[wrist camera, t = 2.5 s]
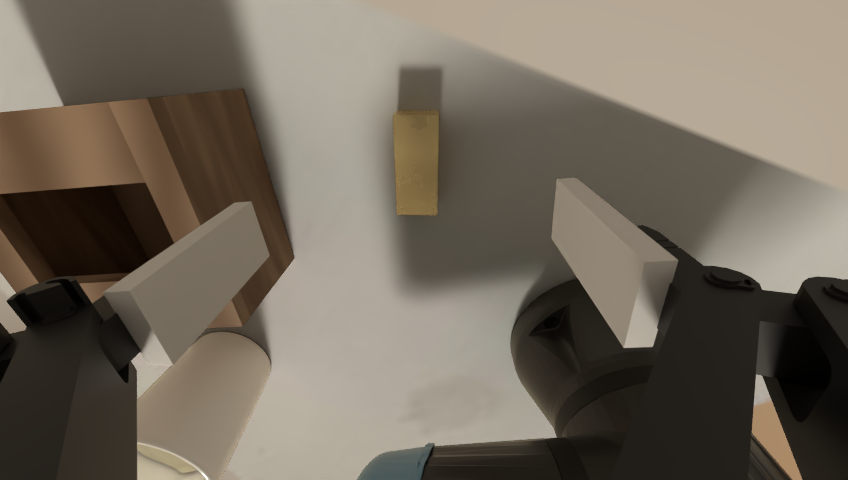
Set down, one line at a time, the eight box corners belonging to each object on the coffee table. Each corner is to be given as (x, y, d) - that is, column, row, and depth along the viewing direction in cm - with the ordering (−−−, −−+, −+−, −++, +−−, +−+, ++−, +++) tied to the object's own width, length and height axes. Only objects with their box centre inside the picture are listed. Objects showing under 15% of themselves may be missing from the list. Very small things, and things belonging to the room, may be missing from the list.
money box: (243, 88, 24) (146, 98, 16) (294, 258, 30) (242, 326, 22) (63, 106, 25) (-113, 123, 17) (148, 267, 31) (48, 335, 23)
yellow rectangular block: (438, 110, 25) (439, 115, 22) (437, 201, 28) (437, 215, 25) (397, 110, 25) (392, 115, 22) (400, 200, 28) (396, 214, 25)
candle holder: (187, 313, 34) (70, 427, 23) (284, 340, 35) (216, 459, 24) (186, 378, 38) (87, 499, 27) (272, 400, 39) (210, 524, 28)
